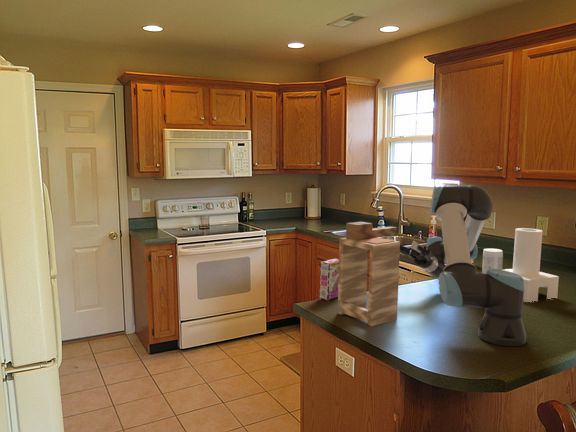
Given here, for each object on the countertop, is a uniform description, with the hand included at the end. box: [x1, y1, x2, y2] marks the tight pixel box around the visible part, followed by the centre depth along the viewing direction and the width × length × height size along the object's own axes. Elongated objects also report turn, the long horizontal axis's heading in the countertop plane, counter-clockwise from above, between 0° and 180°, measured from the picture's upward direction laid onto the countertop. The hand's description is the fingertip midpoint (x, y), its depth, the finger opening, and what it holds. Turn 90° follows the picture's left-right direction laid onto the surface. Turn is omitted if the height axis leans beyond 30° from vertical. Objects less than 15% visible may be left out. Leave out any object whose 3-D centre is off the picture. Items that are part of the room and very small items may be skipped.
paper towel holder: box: [504, 227, 560, 303], centre depth 216 cm, size 19×19×30 cm
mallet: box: [345, 221, 398, 241], centre depth 189 cm, size 24×6×6 cm, turn 127°
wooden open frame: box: [337, 237, 401, 327], centre depth 184 cm, size 18×14×30 cm
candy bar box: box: [319, 258, 339, 302], centre depth 209 cm, size 11×5×16 cm, turn 141°
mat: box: [360, 237, 396, 244], centre depth 179 cm, size 8×10×1 cm
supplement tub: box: [481, 247, 504, 274], centre depth 248 cm, size 10×10×15 cm
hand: (399, 241), depth 200 cm, fingers open, 13 cm apart
